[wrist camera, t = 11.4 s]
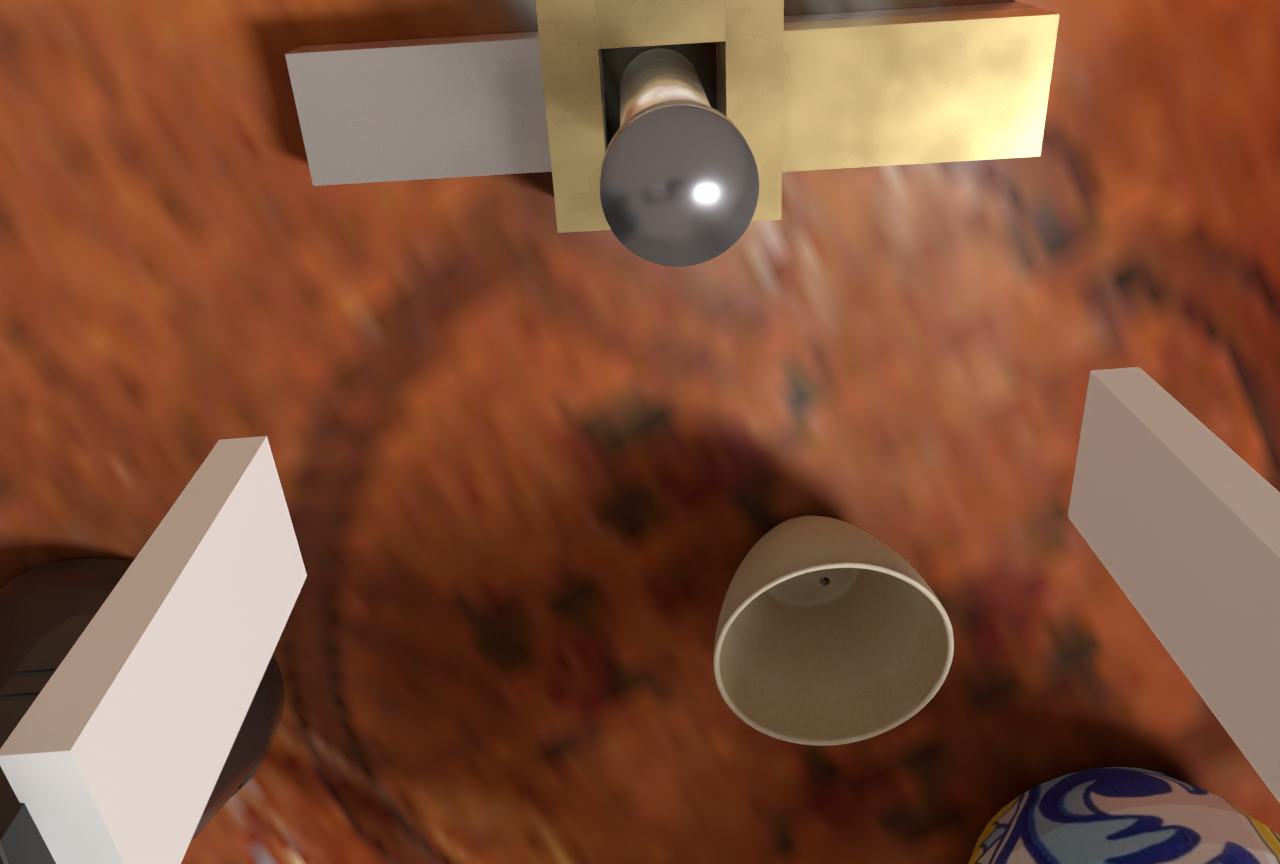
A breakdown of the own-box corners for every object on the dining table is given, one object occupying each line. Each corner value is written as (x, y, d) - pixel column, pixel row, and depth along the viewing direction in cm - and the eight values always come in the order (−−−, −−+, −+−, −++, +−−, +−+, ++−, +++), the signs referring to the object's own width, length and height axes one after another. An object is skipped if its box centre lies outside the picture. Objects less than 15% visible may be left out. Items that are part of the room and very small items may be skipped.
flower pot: (672, 509, 46) (680, 607, 40) (882, 441, 45) (924, 532, 38) (739, 663, 51) (755, 772, 45) (932, 606, 49) (977, 711, 43)
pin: (610, 148, 38) (605, 270, 26) (602, 37, 36) (594, 112, 24) (714, 141, 38) (759, 261, 26) (712, 30, 36) (759, 103, 24)
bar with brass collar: (335, 215, 39) (307, 247, 36) (290, -5, 36) (254, 7, 32) (996, 175, 39) (1033, 204, 36) (1023, -51, 35) (1067, -44, 32)
